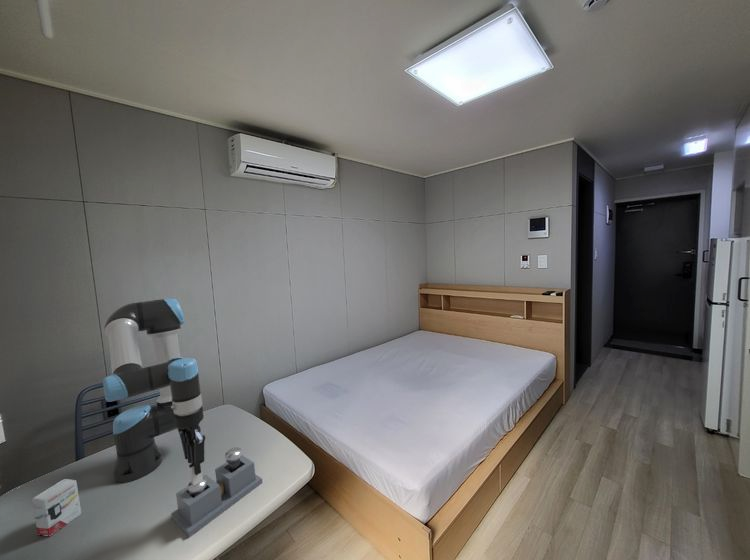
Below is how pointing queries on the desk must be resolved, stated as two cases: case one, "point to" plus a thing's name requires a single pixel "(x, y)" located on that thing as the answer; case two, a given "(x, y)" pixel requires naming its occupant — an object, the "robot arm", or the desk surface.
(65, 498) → the ink box
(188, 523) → the mount
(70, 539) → the desk surface
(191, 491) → the knob
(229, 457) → the knob
